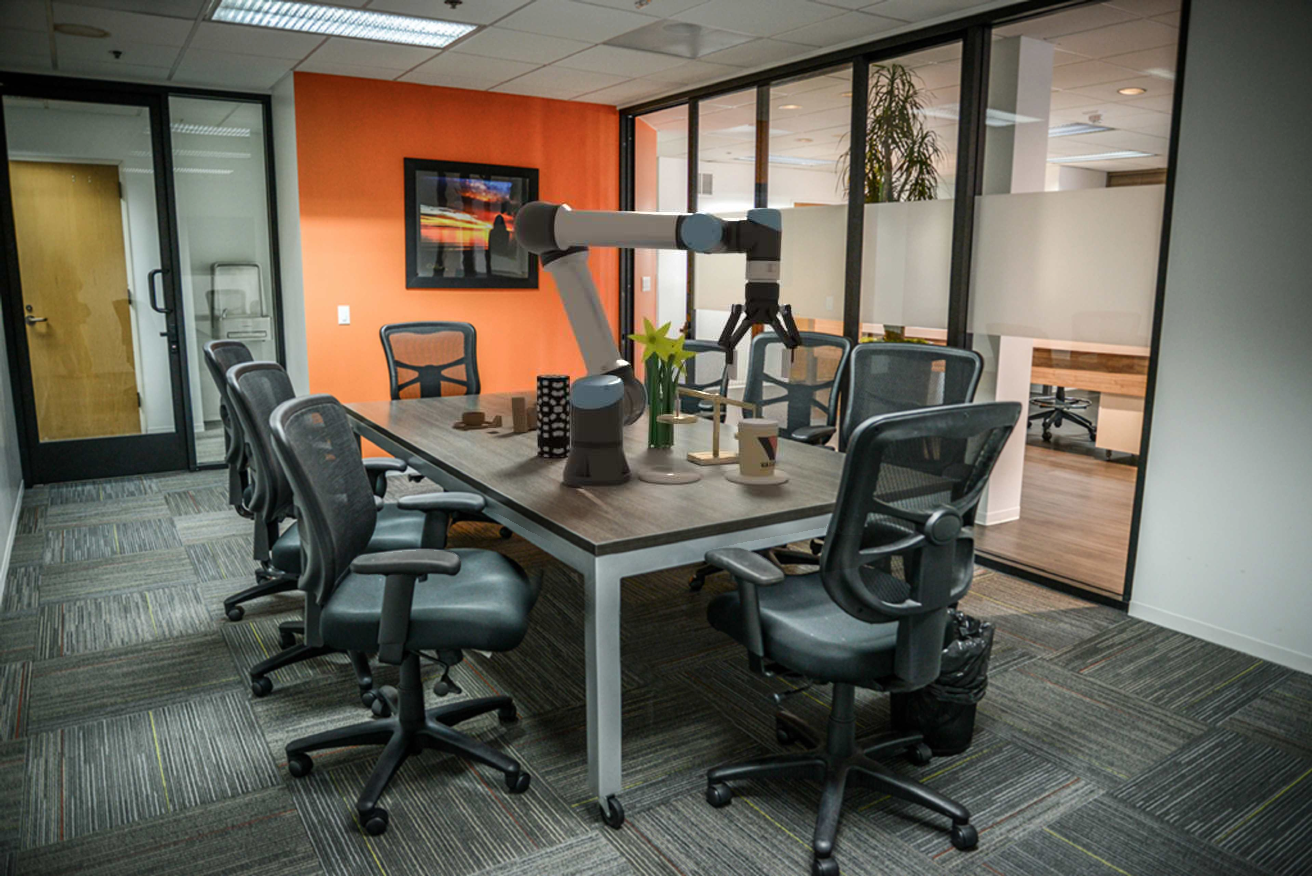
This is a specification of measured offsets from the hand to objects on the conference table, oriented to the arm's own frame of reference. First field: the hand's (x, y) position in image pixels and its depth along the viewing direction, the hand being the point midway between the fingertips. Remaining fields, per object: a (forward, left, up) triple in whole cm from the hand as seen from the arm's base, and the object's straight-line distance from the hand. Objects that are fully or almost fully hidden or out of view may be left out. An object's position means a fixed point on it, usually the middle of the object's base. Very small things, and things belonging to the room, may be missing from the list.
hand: (759, 378), depth 198 cm
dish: (0, 0, -22) cm, 23 cm away
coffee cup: (0, 0, -22) cm, 22 cm away
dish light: (-18, +8, -22) cm, 30 cm away
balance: (+1, +22, -22) cm, 31 cm away
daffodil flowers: (-4, +43, -23) cm, 49 cm away
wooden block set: (-31, +83, -23) cm, 92 cm away
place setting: (-40, +93, -23) cm, 104 cm away
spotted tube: (-34, +44, -23) cm, 60 cm away
